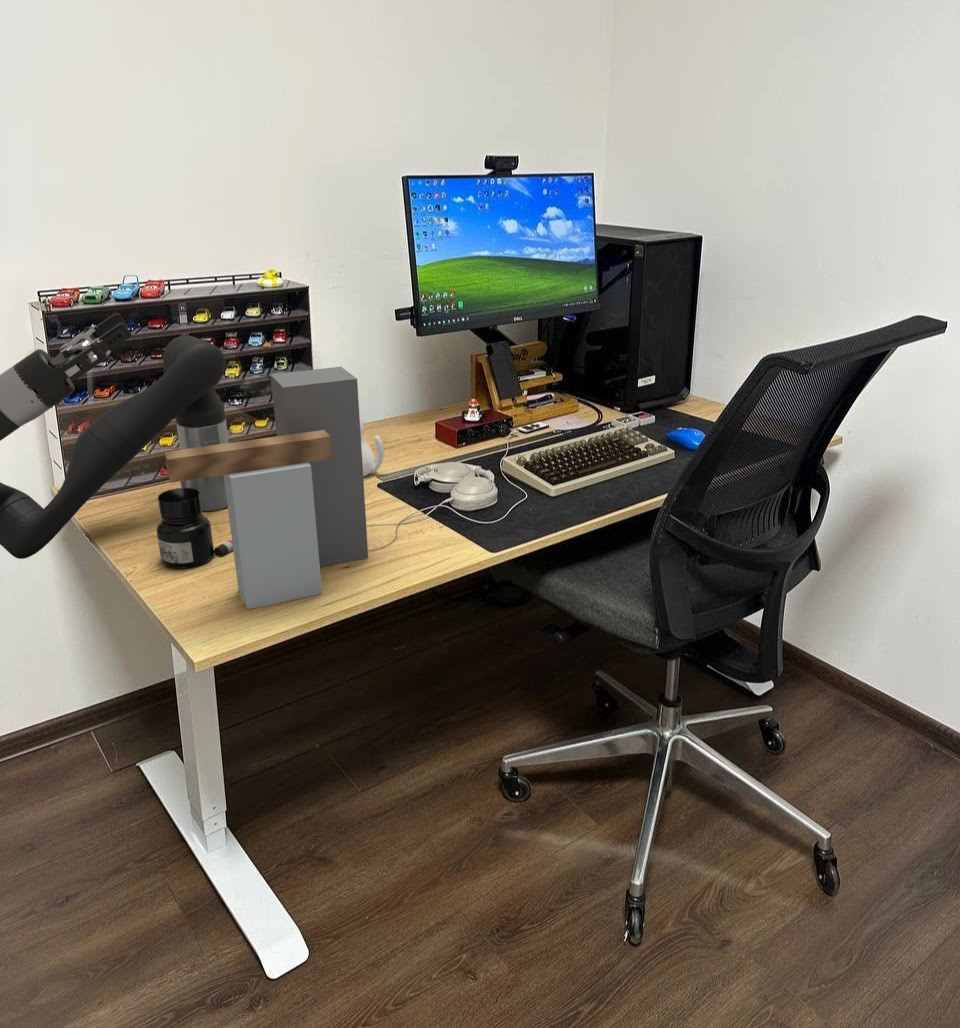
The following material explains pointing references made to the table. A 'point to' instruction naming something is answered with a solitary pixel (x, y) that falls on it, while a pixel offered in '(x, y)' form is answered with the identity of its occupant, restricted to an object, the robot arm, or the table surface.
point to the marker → (224, 548)
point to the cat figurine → (370, 453)
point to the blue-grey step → (274, 534)
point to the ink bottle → (183, 529)
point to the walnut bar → (247, 455)
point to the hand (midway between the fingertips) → (124, 323)
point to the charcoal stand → (339, 480)
